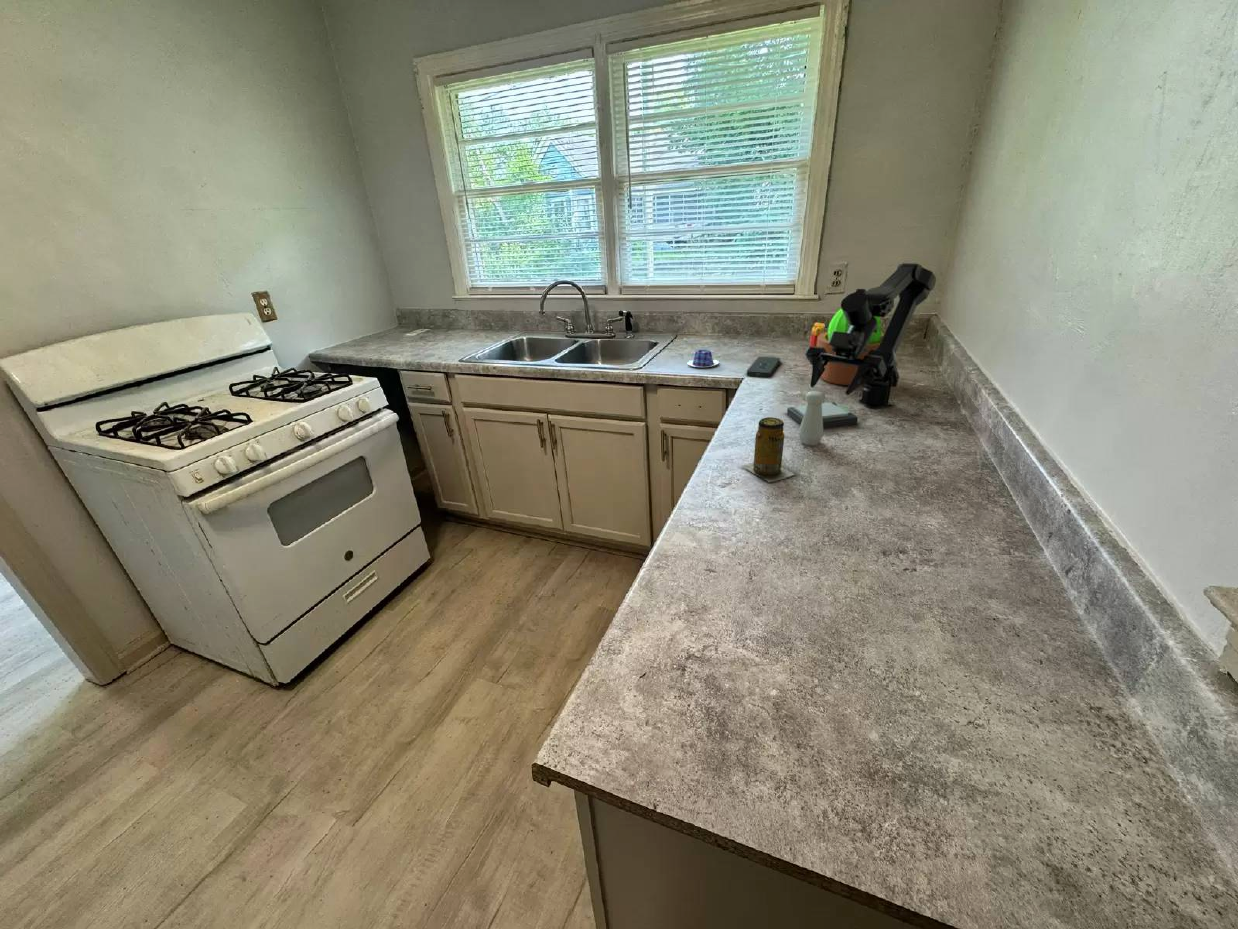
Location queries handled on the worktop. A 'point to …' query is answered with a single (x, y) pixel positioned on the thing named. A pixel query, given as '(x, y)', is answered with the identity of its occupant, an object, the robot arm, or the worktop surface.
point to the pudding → (703, 359)
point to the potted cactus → (834, 370)
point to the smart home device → (763, 366)
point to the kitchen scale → (826, 415)
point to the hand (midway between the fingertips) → (828, 390)
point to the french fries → (816, 333)
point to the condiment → (769, 451)
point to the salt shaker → (812, 419)
